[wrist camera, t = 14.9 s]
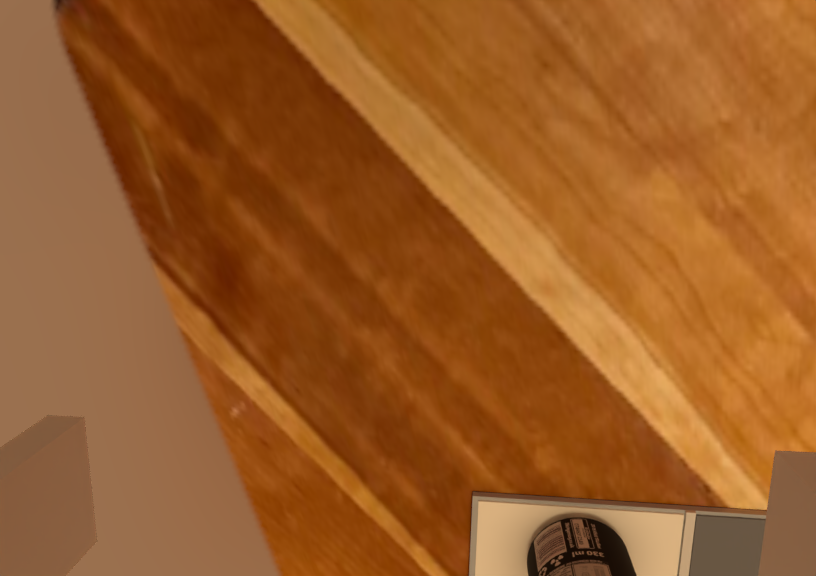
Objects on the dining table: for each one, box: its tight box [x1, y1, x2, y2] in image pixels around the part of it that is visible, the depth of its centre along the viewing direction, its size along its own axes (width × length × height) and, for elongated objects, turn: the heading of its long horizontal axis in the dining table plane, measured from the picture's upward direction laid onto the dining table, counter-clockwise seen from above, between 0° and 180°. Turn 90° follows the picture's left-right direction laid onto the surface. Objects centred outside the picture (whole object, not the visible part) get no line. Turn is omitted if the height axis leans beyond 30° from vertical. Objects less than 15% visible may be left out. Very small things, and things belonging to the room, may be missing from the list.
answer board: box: [469, 492, 767, 576], centre depth 47 cm, size 8×28×1 cm, turn 89°
